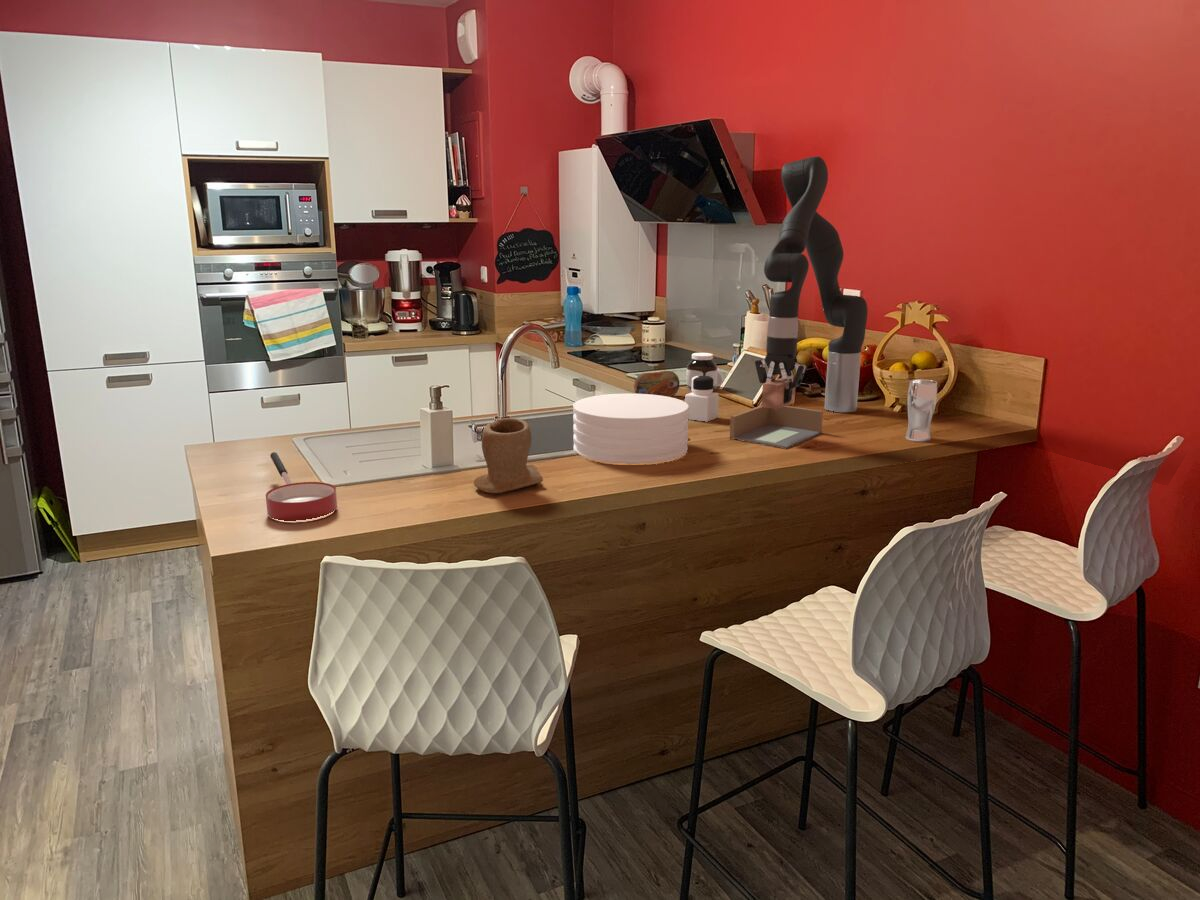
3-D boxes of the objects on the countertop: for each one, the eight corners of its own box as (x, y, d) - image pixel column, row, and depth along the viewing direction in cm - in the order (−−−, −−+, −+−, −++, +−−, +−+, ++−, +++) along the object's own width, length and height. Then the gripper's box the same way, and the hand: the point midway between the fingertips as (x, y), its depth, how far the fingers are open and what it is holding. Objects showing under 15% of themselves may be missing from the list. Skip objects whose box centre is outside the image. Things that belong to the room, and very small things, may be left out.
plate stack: (638, 431, 240) (639, 389, 237) (711, 453, 218) (712, 407, 215) (551, 447, 224) (550, 402, 221) (620, 473, 202) (620, 424, 199)
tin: (637, 401, 276) (637, 374, 274) (632, 399, 279) (632, 372, 277) (679, 396, 282) (680, 370, 280) (674, 395, 285) (675, 368, 283)
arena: (767, 424, 246) (768, 403, 245) (821, 433, 237) (822, 411, 235) (729, 438, 231) (730, 416, 229) (786, 448, 221) (787, 425, 220)
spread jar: (685, 391, 290) (685, 355, 287) (687, 384, 301) (688, 350, 298) (722, 392, 288) (723, 356, 285) (723, 386, 299) (724, 351, 296)
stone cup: (494, 502, 182) (492, 430, 178) (466, 487, 191) (464, 419, 187) (557, 488, 191) (556, 420, 187) (527, 475, 200) (526, 409, 196)
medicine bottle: (718, 417, 254) (719, 375, 251) (707, 422, 248) (708, 379, 245) (695, 414, 258) (696, 373, 255) (684, 419, 252) (685, 377, 249)
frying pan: (233, 487, 192) (230, 458, 190) (294, 476, 199) (291, 449, 198) (279, 529, 167) (276, 496, 165) (347, 515, 174) (345, 484, 173)
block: (761, 406, 227) (762, 383, 225) (780, 400, 234) (781, 378, 233) (775, 409, 224) (777, 385, 223) (794, 402, 232) (795, 379, 230)
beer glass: (928, 435, 234) (934, 379, 230) (935, 442, 227) (941, 384, 223) (901, 435, 235) (906, 378, 231) (907, 442, 228) (912, 383, 224)
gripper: (749, 333, 226) (746, 400, 230) (801, 338, 217) (797, 408, 222) (764, 330, 232) (760, 396, 236) (815, 335, 223) (810, 403, 227)
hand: (778, 401), depth 229 cm, fingers closed on block, 4 cm apart
